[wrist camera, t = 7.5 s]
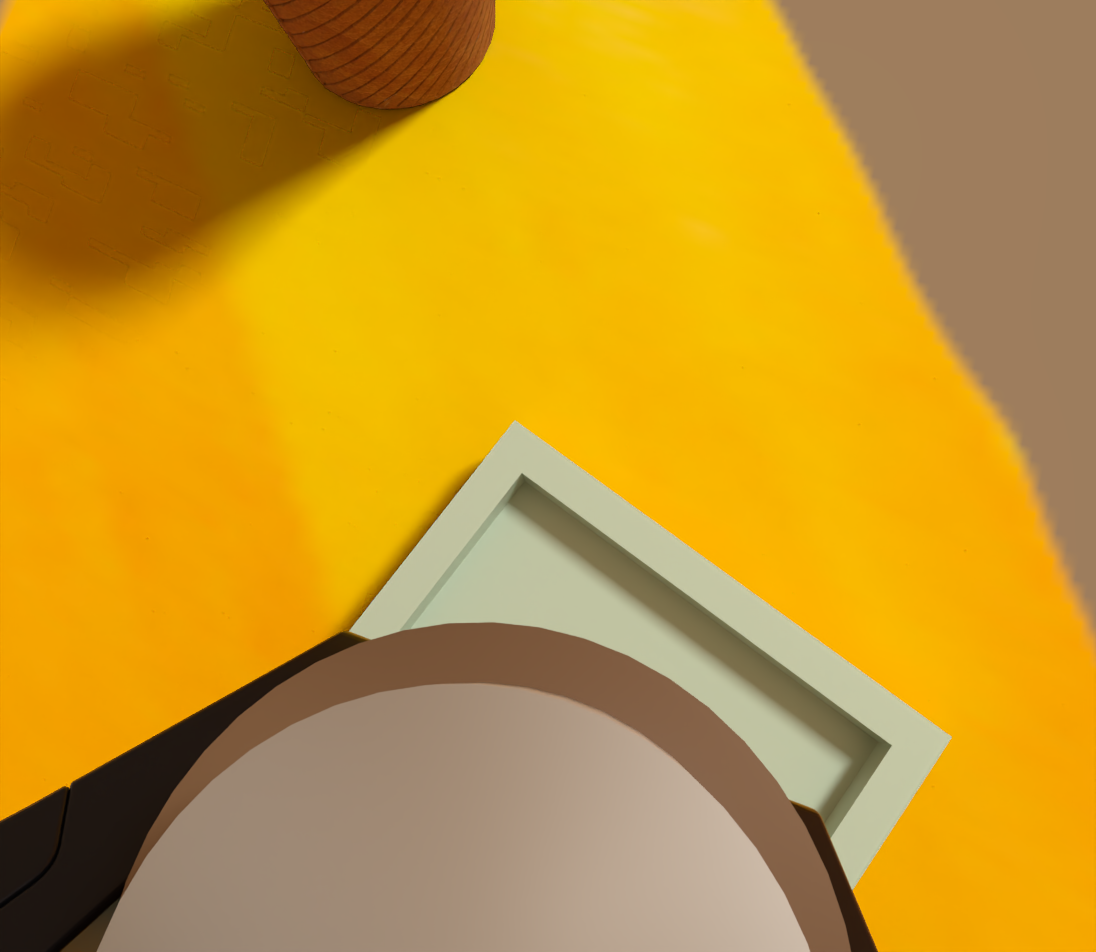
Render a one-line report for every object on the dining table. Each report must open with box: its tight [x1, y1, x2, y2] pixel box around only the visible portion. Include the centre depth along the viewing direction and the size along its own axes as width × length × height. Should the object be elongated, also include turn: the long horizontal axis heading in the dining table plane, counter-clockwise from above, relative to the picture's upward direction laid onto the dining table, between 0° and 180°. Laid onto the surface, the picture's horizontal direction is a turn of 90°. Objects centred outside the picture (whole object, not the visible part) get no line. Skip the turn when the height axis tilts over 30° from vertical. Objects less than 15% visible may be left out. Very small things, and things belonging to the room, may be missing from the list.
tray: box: [349, 421, 952, 890], centre depth 22 cm, size 17×13×2 cm
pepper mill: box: [97, 622, 851, 952], centre depth 10 cm, size 5×5×12 cm
